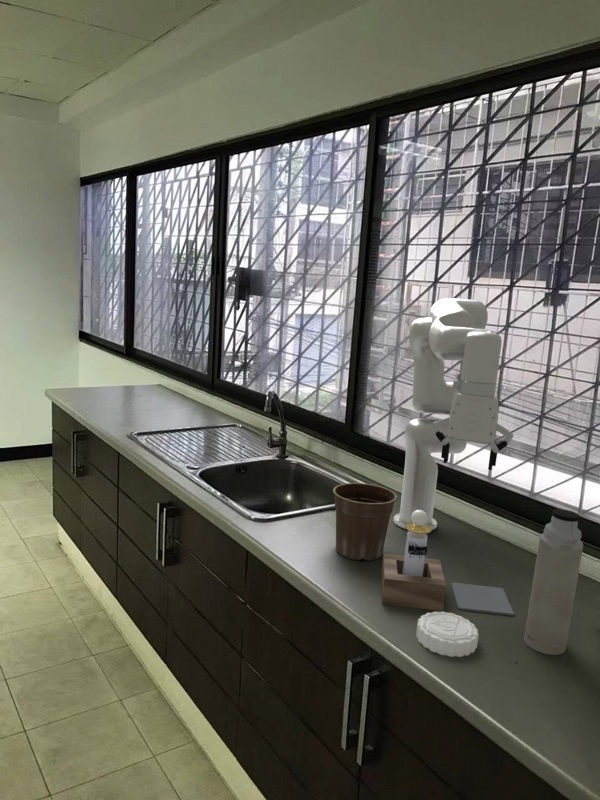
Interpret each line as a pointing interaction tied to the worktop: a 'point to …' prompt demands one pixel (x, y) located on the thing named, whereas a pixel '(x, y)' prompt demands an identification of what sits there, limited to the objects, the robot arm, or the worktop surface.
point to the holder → (412, 584)
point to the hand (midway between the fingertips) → (467, 465)
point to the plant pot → (362, 519)
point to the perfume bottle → (416, 544)
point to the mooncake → (447, 634)
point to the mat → (481, 599)
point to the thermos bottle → (554, 584)
